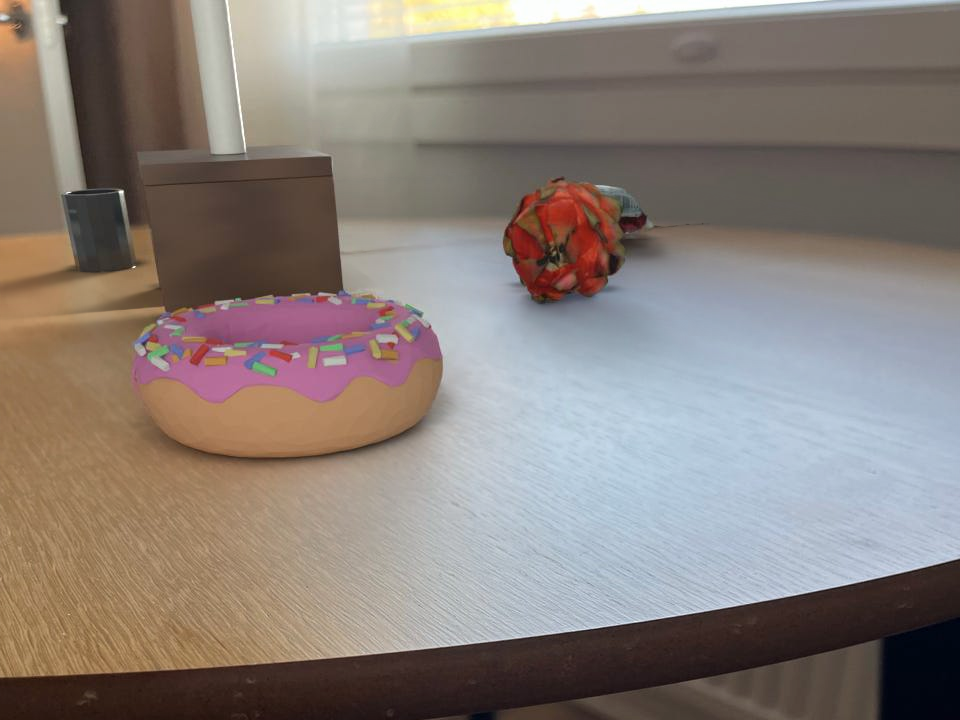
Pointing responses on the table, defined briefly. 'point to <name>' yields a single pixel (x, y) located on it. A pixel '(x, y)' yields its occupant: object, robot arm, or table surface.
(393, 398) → the donut
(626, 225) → the packaged food
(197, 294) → the desk cabinet
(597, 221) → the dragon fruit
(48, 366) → the table surface
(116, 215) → the pen cup
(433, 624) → the table surface
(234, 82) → the marker
